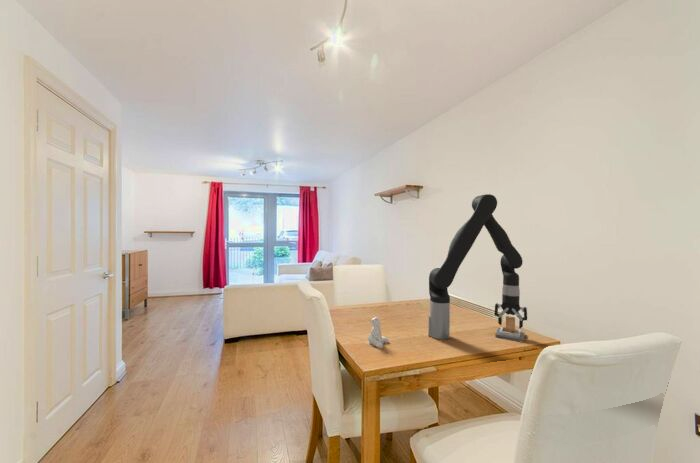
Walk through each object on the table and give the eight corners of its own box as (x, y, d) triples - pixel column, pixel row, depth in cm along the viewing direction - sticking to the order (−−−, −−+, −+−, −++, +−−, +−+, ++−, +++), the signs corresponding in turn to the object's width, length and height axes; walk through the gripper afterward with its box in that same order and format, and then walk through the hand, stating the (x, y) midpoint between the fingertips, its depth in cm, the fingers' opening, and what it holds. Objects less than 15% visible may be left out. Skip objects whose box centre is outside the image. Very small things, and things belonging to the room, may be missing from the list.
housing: (495, 336, 144) (495, 331, 144) (498, 330, 154) (498, 324, 154) (523, 342, 138) (523, 336, 138) (524, 334, 148) (524, 329, 148)
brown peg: (505, 333, 145) (505, 317, 145) (505, 331, 149) (506, 315, 149) (514, 335, 143) (514, 319, 143) (515, 333, 146) (515, 317, 146)
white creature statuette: (381, 349, 127) (381, 321, 127) (363, 345, 132) (364, 318, 132) (389, 342, 136) (389, 316, 136) (372, 338, 140) (372, 313, 140)
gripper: (494, 293, 146) (493, 325, 147) (527, 297, 139) (526, 331, 139) (495, 290, 153) (495, 321, 153) (527, 294, 145) (527, 327, 145)
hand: (510, 326), depth 146 cm, fingers open, 8 cm apart
